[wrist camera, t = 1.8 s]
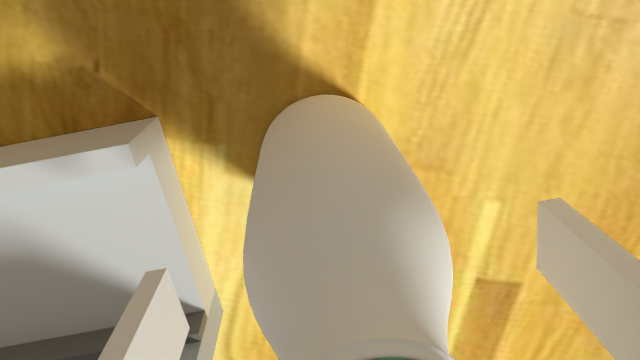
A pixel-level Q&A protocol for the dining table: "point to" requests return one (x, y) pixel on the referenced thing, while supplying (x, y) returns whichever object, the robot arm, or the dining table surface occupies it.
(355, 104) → the milk bottle
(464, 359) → the dining table surface
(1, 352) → the board
